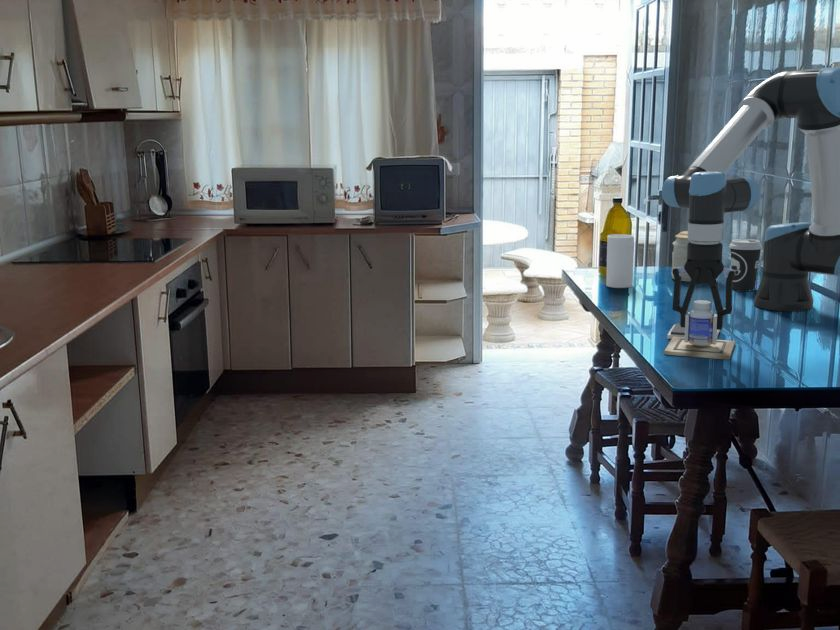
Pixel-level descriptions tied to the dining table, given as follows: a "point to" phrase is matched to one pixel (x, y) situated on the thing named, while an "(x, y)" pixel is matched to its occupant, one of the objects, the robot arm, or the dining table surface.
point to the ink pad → (679, 331)
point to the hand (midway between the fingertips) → (700, 341)
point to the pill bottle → (701, 323)
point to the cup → (620, 260)
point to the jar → (680, 254)
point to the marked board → (700, 349)
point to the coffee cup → (745, 263)
